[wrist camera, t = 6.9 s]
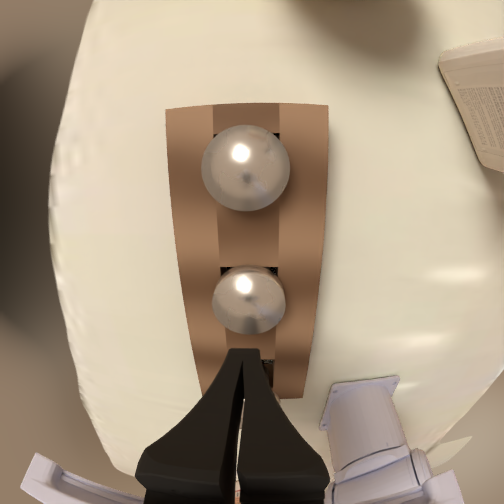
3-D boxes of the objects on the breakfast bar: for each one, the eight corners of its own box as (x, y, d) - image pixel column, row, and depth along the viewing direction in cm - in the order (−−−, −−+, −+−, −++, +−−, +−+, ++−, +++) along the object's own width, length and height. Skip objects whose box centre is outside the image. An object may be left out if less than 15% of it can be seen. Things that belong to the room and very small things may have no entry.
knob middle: (280, 297, 22) (283, 334, 18) (222, 297, 22) (215, 333, 18) (281, 244, 20) (287, 273, 16) (219, 244, 20) (208, 273, 16)
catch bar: (299, 374, 26) (302, 398, 23) (207, 373, 26) (202, 396, 23) (317, 109, 16) (328, 105, 14) (179, 112, 17) (165, 109, 14)
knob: (282, 193, 18) (289, 211, 14) (216, 194, 19) (203, 211, 15) (283, 127, 17) (290, 124, 13) (213, 128, 17) (199, 127, 13)
